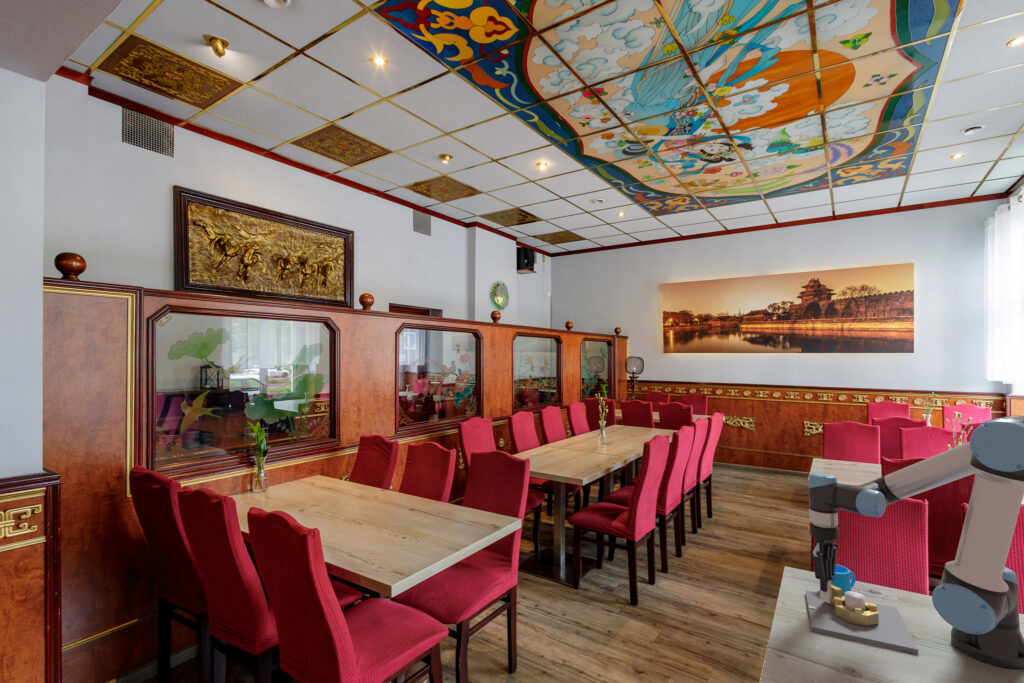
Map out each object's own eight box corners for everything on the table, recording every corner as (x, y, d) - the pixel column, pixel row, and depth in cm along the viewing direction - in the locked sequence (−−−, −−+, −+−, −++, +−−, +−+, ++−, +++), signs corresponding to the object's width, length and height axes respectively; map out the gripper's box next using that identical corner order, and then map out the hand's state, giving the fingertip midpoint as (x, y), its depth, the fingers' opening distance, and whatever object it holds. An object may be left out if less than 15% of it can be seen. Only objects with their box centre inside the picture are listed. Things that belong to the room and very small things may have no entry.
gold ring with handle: (886, 621, 140) (885, 602, 140) (860, 628, 136) (859, 608, 137) (838, 597, 154) (837, 580, 154) (813, 603, 150) (812, 585, 151)
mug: (836, 600, 155) (835, 575, 155) (815, 589, 163) (814, 564, 163) (866, 596, 157) (865, 571, 158) (844, 584, 165) (843, 560, 166)
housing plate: (896, 611, 148) (895, 586, 148) (918, 654, 127) (917, 625, 127) (805, 594, 159) (805, 571, 159) (811, 631, 138) (810, 604, 138)
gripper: (820, 517, 157) (822, 591, 155) (800, 524, 150) (802, 601, 149) (846, 523, 150) (848, 600, 149) (826, 531, 143) (829, 612, 142)
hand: (825, 601), depth 149 cm, fingers closed
